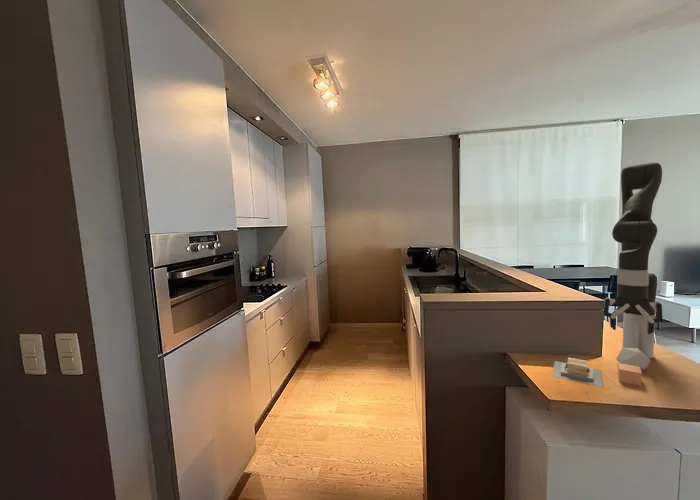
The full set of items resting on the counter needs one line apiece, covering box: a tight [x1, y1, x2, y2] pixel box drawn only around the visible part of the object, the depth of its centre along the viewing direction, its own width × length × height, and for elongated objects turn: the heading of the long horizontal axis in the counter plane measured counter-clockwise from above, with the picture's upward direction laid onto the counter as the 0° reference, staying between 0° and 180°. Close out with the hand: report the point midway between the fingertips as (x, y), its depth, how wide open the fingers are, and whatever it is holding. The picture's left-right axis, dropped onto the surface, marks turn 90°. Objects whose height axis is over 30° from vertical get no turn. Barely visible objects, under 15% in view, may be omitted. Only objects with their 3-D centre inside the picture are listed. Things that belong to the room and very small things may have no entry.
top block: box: [617, 362, 643, 387], centre depth 104 cm, size 6×6×6 cm
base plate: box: [551, 360, 604, 388], centre depth 110 cm, size 14×14×2 cm
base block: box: [566, 357, 588, 376], centre depth 110 cm, size 6×6×4 cm
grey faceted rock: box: [615, 347, 652, 371], centre depth 113 cm, size 8×9×10 cm
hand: (630, 331), depth 103 cm, fingers open, 8 cm apart
